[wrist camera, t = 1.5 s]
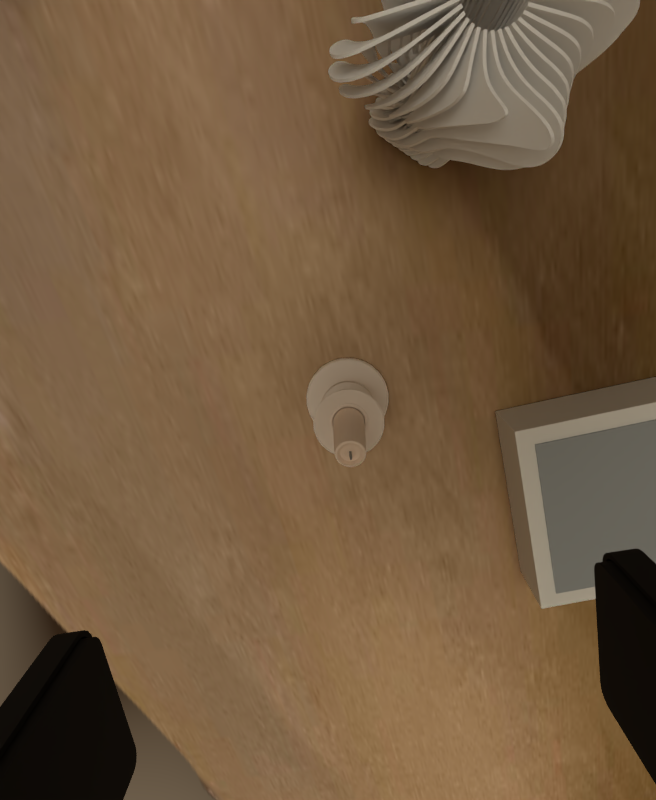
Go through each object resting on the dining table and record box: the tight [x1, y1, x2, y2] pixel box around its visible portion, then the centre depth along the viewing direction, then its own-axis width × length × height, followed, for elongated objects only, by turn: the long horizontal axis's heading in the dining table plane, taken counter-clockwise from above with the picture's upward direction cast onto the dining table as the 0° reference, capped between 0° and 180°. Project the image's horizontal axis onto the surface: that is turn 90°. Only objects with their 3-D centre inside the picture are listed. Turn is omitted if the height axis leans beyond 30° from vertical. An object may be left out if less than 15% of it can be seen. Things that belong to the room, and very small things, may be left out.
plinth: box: [495, 377, 656, 609], centre depth 34 cm, size 12×12×4 cm
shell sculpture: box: [328, 0, 640, 170], centre depth 21 cm, size 8×8×18 cm
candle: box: [306, 358, 389, 467], centre depth 29 cm, size 5×5×10 cm
